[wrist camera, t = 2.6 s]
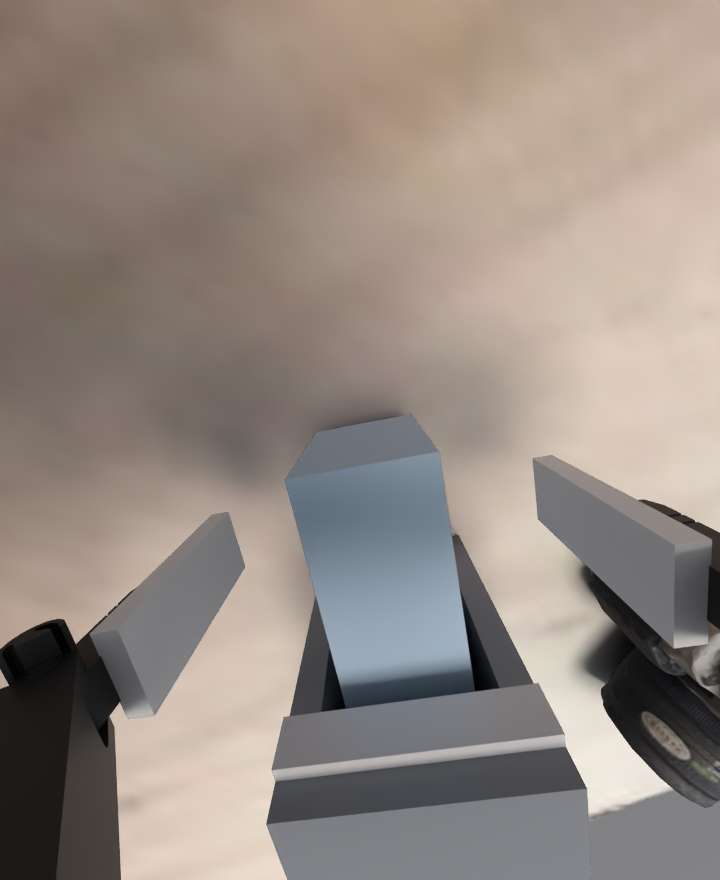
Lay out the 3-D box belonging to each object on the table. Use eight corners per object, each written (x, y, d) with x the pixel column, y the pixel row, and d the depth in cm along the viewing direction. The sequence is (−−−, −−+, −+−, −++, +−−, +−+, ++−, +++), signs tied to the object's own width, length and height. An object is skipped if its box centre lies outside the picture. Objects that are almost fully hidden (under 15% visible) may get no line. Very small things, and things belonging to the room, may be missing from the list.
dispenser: (322, 551, 22) (262, 811, 10) (457, 528, 22) (585, 775, 9) (364, 716, 26) (361, 1073, 13) (482, 701, 25) (601, 1059, 12)
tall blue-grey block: (316, 432, 18) (284, 479, 11) (411, 413, 17) (439, 451, 10) (379, 697, 22) (384, 851, 15) (456, 687, 22) (497, 839, 15)
